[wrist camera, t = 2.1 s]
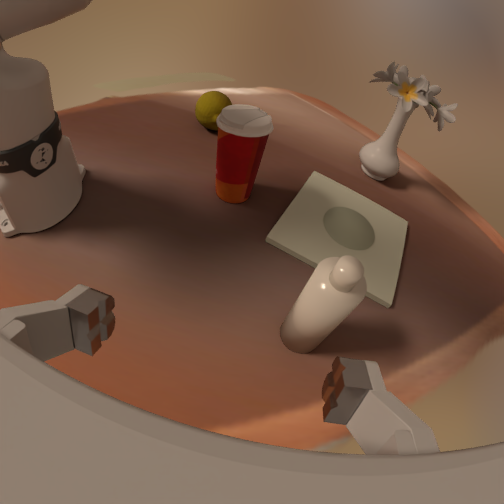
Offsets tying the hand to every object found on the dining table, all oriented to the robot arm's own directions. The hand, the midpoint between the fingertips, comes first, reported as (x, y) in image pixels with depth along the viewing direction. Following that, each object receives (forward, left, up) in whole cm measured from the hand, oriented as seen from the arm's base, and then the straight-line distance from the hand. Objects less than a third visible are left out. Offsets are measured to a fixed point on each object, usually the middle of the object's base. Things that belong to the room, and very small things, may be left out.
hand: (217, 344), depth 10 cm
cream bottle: (+5, +14, -22) cm, 26 cm away
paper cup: (-14, +30, -22) cm, 40 cm away
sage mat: (+5, +34, -22) cm, 40 cm away
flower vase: (+6, +57, -22) cm, 61 cm away
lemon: (-29, +46, -22) cm, 59 cm away
